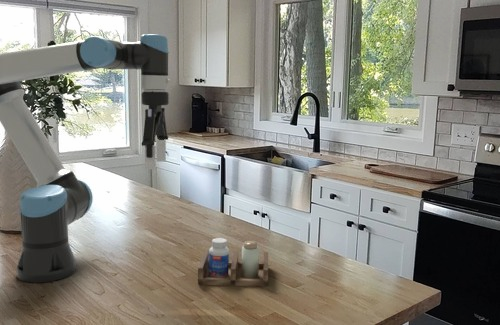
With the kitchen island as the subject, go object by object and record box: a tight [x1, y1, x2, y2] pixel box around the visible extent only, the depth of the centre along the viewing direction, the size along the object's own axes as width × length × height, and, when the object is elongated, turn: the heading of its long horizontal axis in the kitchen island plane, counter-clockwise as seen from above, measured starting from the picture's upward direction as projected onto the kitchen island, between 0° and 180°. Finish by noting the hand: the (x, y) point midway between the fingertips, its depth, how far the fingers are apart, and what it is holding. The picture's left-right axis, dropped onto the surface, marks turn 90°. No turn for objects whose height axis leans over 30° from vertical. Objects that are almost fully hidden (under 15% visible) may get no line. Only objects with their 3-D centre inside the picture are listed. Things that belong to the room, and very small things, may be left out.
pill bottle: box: [208, 237, 230, 278], centre depth 130 cm, size 6×5×10 cm
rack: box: [197, 250, 269, 287], centre depth 130 cm, size 18×13×6 cm
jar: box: [241, 240, 260, 279], centre depth 130 cm, size 5×5×9 cm
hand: (156, 165), depth 140 cm, fingers open, 13 cm apart
